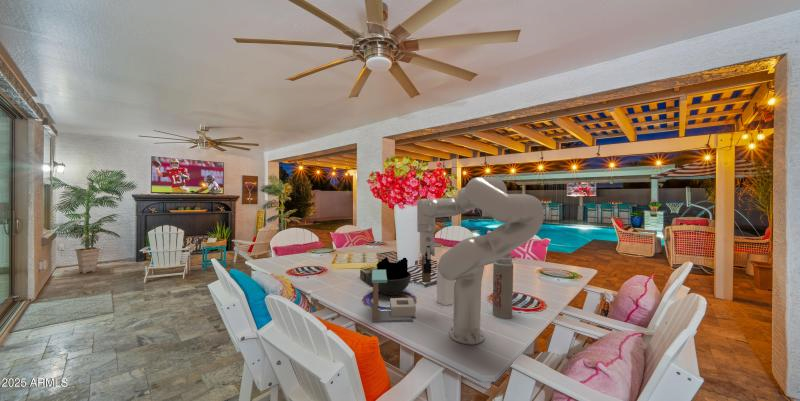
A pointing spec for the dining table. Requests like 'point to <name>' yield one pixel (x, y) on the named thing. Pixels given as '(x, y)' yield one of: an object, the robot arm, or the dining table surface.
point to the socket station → (391, 303)
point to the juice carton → (367, 275)
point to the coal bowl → (394, 276)
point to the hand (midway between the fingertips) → (426, 271)
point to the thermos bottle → (503, 287)
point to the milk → (444, 289)
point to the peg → (425, 274)
